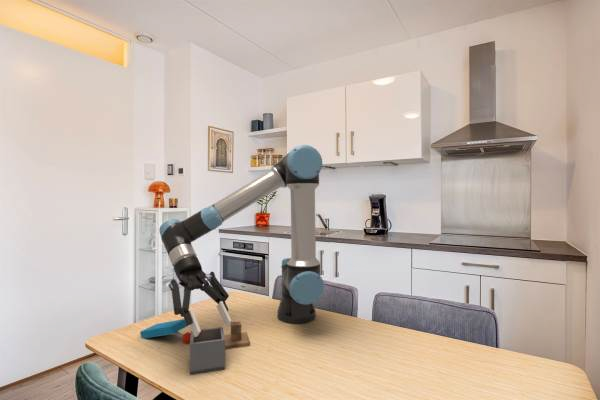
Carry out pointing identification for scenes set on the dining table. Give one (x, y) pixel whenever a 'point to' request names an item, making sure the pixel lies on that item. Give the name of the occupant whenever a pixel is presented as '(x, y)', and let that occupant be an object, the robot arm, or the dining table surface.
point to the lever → (167, 330)
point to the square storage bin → (207, 351)
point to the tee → (236, 337)
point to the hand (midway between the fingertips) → (213, 328)
